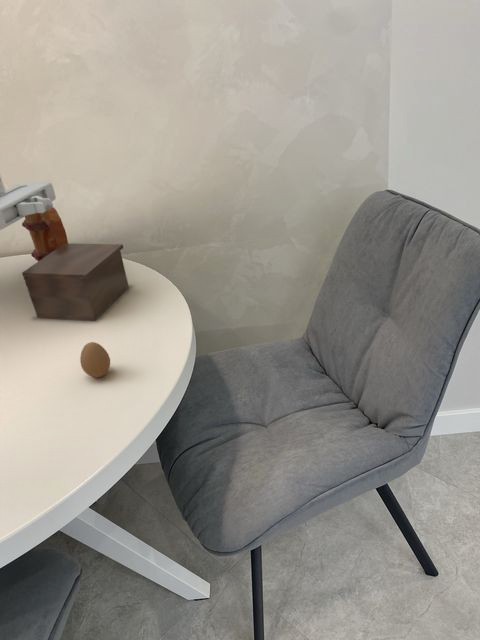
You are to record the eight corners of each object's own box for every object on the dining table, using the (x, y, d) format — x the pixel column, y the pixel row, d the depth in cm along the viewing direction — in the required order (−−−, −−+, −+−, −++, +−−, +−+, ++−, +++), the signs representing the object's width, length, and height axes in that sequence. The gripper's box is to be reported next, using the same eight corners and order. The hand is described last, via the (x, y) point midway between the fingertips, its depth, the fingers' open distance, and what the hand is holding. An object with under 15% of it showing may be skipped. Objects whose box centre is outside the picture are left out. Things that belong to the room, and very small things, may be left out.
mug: (31, 265, 131) (10, 203, 123) (63, 254, 135) (44, 194, 127) (56, 281, 121) (35, 215, 113) (89, 269, 125) (71, 205, 117)
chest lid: (123, 247, 110) (122, 244, 110) (86, 278, 98) (85, 274, 98) (65, 246, 114) (64, 243, 113) (23, 276, 102) (21, 272, 101)
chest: (129, 287, 115) (119, 247, 110) (94, 321, 103) (82, 278, 99) (76, 285, 118) (65, 247, 114) (37, 318, 107) (23, 276, 102)
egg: (85, 371, 89) (75, 339, 86) (113, 364, 90) (104, 333, 86) (85, 386, 85) (75, 353, 82) (114, 379, 86) (105, 347, 83)
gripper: (23, 204, 114) (81, 204, 111) (-46, 241, 98) (20, 242, 94) (13, 174, 111) (73, 172, 107) (-60, 206, 94) (8, 206, 91)
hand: (48, 205), depth 101 cm, fingers closed
